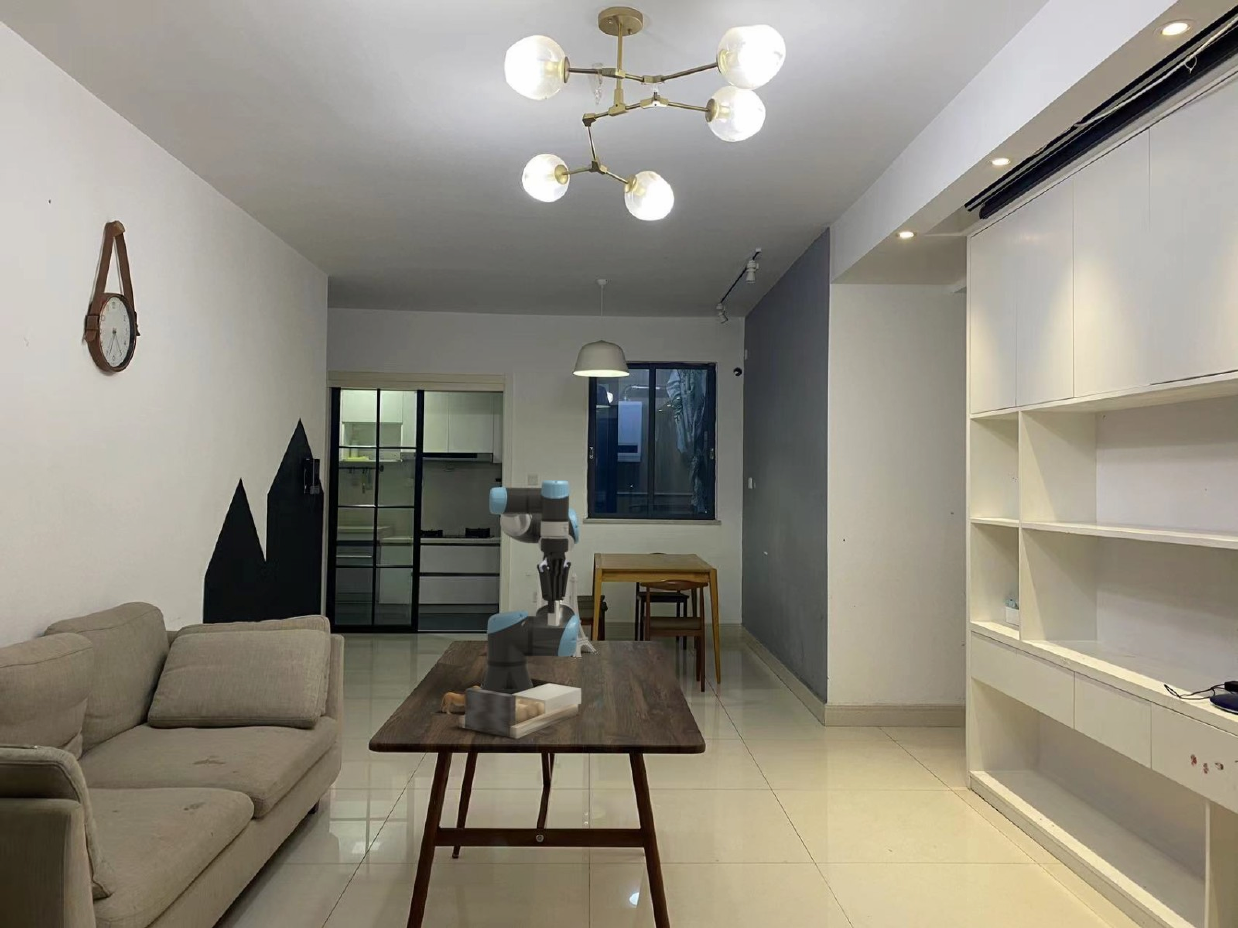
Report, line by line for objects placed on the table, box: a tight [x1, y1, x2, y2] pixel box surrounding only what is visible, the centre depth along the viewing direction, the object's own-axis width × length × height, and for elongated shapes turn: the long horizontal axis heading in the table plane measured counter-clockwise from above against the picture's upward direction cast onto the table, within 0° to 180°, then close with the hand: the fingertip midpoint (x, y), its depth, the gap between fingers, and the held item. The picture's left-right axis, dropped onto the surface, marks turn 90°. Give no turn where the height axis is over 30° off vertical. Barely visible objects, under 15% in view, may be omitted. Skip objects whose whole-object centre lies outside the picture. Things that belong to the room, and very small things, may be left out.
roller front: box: [515, 709, 527, 725], centre depth 209 cm, size 12×4×4 cm, turn 59°
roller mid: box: [516, 703, 537, 720], centre depth 213 cm, size 12×4×4 cm, turn 57°
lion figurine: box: [435, 685, 481, 715], centre depth 221 cm, size 12×4×7 cm, turn 91°
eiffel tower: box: [570, 571, 597, 658], centre depth 304 cm, size 13×13×30 cm
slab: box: [512, 682, 582, 714], centre depth 225 cm, size 11×16×4 cm
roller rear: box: [516, 698, 545, 717], centre depth 217 cm, size 12×4×4 cm
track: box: [458, 687, 579, 739], centre depth 215 cm, size 18×26×10 cm
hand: (553, 625), depth 227 cm, fingers closed
